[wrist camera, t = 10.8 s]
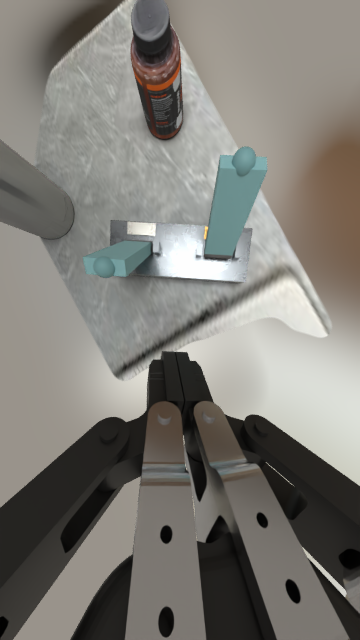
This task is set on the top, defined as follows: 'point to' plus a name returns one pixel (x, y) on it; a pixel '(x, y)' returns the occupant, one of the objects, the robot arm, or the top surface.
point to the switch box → (183, 252)
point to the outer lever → (233, 200)
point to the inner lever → (118, 258)
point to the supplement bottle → (157, 67)
